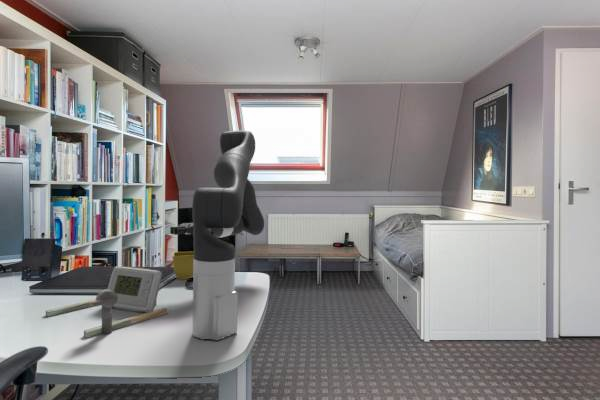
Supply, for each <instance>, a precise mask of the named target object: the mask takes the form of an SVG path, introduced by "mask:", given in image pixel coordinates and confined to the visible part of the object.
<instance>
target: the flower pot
mask: <svg viewBox="0 0 600 400" xmlns="http://www.w3.org/2000/svg"><path fill="white" fill-rule="evenodd" d="M172 265H173V267H172V268H173V272H174V275H175V277H176V278H177V280H179V281H181V280H189V279H188V278H190V277H192V276H193V270H194V251H174V252H172Z"/></svg>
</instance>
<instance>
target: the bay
mask: <svg viewBox="0 0 600 400" xmlns="http://www.w3.org/2000/svg"><path fill="white" fill-rule="evenodd" d="M107 289H108V288H106V289H103V290H100V291H99V292H98V293H97V295H96V299H91V300H87V301H83V302H77V303H74V304H70V305H69V304H68V305H65V306H60V307H55V308H52V309H48V310H45V316H46V317H48V318H49V317H52V316H57V315H60V314H61V315H62V314H65V313H68V312H74V311H78V310H81V309H85V308H90V307H94V306H98V305H99V306H101V325H99V326H95V327H92V328H89V329H84V330H83V337H84V338H87V339H88V338H90V337H94V336H97V335H100V334H102V335H109V334H112V332H113V330H117V329H120V328H124V327H127V326H130V325H133V324H137V323H140V322H144V321H146V320H151V319H154V318H156V317H160V316H163V315H165V314H167V315H168V311H169V310H168V307H167V308H166V307H161V308H157V309H155V310H153V311H150V312H142V313H141V314H137V315H133V316H131V317H127V318H123V319H119V320H116V321H113V307H112V306H114V305H115V304H116V302H117V299H118V296H117V294H116V293H115V292H113V291H110V290H107Z"/></svg>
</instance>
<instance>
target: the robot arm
mask: <svg viewBox="0 0 600 400" xmlns="http://www.w3.org/2000/svg"><path fill="white" fill-rule="evenodd" d="M219 147H220V152H221V156H219V158H218V159H217V162H216V164H215V166H214V169H213V178H214V181H215V183H216V184H217V186H218V187H198V188H197V189H196V190H195V191H194V194H193V196H192V206H191V208H192V211H191V212H192V222H189V223H188V222H184V223H180V224H178V225H176V226H170V228H169V234H171V235H175V236H176V235H192V236H193V243H192V246H193V252H194V270H193V281H192V282H193V283H192V285H193V286H192V287H193V288H192V336H193V337H195V338H196V337H197V339H199V338H200V340H204V339H214V340H213V341H215V340H219V339H221V338H223V337H226V336H228V335H230V336H232V335H231V334H233V333H235V334H237V333H238V296H239V295H238V292H237V291H236V290H235V274H236V273H235V272H236V270H235V269H236V268H235V267H236V248H235V246H234V244H232V243H229V242H227V241H224V240H222V239H220V238H225V237H228V236H235V235H236V236H237V235H240V234H241V233H242V232H246V233H248V234H250V235H253V236H258V235H260V234H261V233H262V232H263V231H264V228H265V219H264V216H263V214H262V212H261V210H260V207H259V205H258V202H257V198H256V197H257V196H256V191H255V188H254V186H253V184H252V182H251V181H250V180H249V179H248V177H249V174H250V166H251V162H252V160H253V158H254V156H255V152H256V139H255V136H254V134H253V132H251V131H250V130H245V129H244V130H243V129H242V130H231V131H230V130H229V131H224V132H222V133H221V134H220V137H219ZM236 332H237V333H236ZM233 335H234V334H233ZM228 337H229V336H228ZM226 338H227V337H226ZM223 339H224V338H223ZM221 340H222V339H221ZM219 341H220V340H219Z"/></svg>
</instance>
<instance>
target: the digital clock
mask: <svg viewBox="0 0 600 400" xmlns="http://www.w3.org/2000/svg"><path fill="white" fill-rule="evenodd" d="M162 276H163V273H162V271H160V270H157V269H150V268H144V267H134V266H119V265H118V266H117V265H116V266H115V267H114V268H113V270H112V273H111V276H110V279H109V283H108V286H107V288H106V289H107V290H110V291H113V292H115V293H116V294H117V296H118V299H117V302H116V304H115V305H114V306H112V308H113V309H117V310H125V311H129V312H138V313H147V312H150V311H154V309H155V307H156V306H157V298H158V293H159V290H160V287H161V283H162Z"/></svg>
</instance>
